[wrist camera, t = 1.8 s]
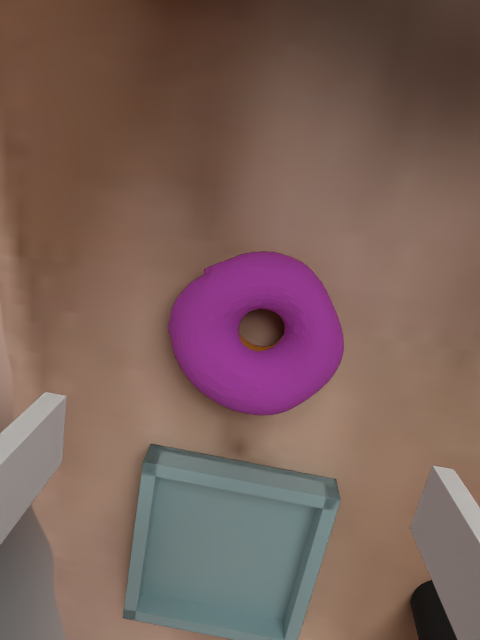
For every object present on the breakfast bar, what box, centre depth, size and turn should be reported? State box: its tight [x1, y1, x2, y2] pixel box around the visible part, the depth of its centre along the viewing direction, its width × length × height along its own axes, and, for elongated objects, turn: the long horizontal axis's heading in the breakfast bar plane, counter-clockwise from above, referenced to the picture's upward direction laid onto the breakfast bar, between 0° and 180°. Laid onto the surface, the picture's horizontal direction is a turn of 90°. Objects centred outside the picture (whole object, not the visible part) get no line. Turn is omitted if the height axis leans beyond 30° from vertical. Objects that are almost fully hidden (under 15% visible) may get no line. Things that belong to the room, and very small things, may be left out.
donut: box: [168, 252, 344, 415], centre depth 27 cm, size 10×10×5 cm
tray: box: [123, 444, 341, 640], centre depth 33 cm, size 15×14×2 cm
